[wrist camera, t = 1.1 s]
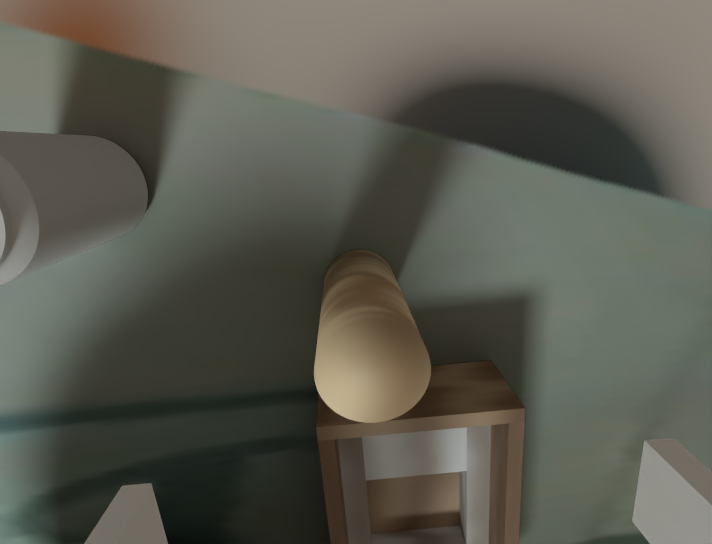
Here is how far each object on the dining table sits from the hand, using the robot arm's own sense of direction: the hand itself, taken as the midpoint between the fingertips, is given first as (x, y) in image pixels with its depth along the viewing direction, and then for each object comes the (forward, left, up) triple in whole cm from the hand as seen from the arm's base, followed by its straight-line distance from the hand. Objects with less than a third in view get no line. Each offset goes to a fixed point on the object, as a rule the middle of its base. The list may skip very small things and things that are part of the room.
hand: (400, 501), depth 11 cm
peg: (0, 0, -19) cm, 19 cm away
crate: (+3, -18, -19) cm, 26 cm away
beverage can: (-16, +8, -19) cm, 26 cm away
